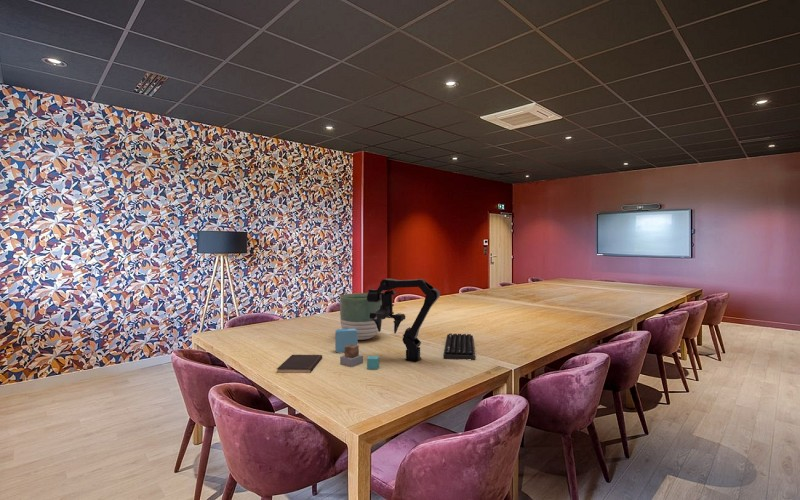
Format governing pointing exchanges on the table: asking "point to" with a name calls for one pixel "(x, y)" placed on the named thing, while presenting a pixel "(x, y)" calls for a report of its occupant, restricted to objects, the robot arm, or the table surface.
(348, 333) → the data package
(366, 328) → the planter
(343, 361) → the slate base block
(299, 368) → the hardcover book
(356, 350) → the walnut cube
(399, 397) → the table surface
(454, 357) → the computer keyboard
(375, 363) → the teal cube
